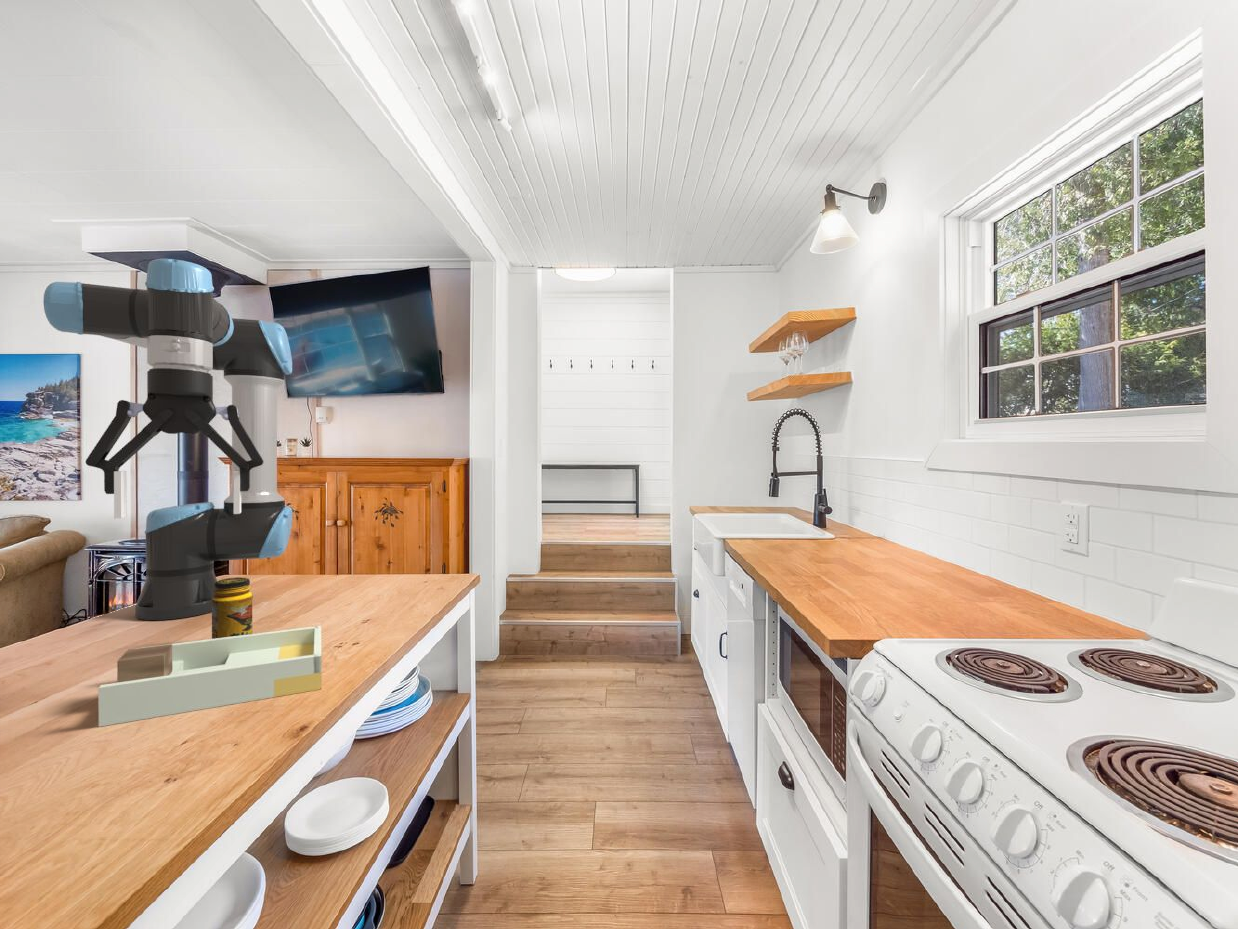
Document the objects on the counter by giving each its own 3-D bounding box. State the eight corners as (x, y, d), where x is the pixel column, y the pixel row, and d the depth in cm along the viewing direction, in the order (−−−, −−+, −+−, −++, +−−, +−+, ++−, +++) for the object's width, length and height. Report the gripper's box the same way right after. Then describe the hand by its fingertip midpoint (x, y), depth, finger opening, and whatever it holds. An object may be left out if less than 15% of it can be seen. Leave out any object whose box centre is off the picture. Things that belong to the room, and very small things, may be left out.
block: (128, 677, 80) (128, 649, 80) (172, 670, 83) (172, 644, 82) (117, 690, 76) (117, 661, 76) (164, 683, 78) (163, 655, 78)
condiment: (254, 648, 99) (254, 581, 99) (195, 657, 95) (195, 587, 94) (254, 636, 105) (254, 574, 105) (198, 645, 101) (198, 579, 101)
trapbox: (135, 680, 85) (135, 648, 85) (321, 654, 97) (321, 625, 97) (98, 726, 71) (98, 688, 71) (321, 689, 83) (321, 655, 82)
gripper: (53, 358, 72) (54, 522, 72) (280, 373, 84) (280, 513, 84) (74, 366, 78) (75, 516, 79) (281, 379, 91) (281, 509, 91)
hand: (181, 515), depth 81 cm, fingers open, 13 cm apart
